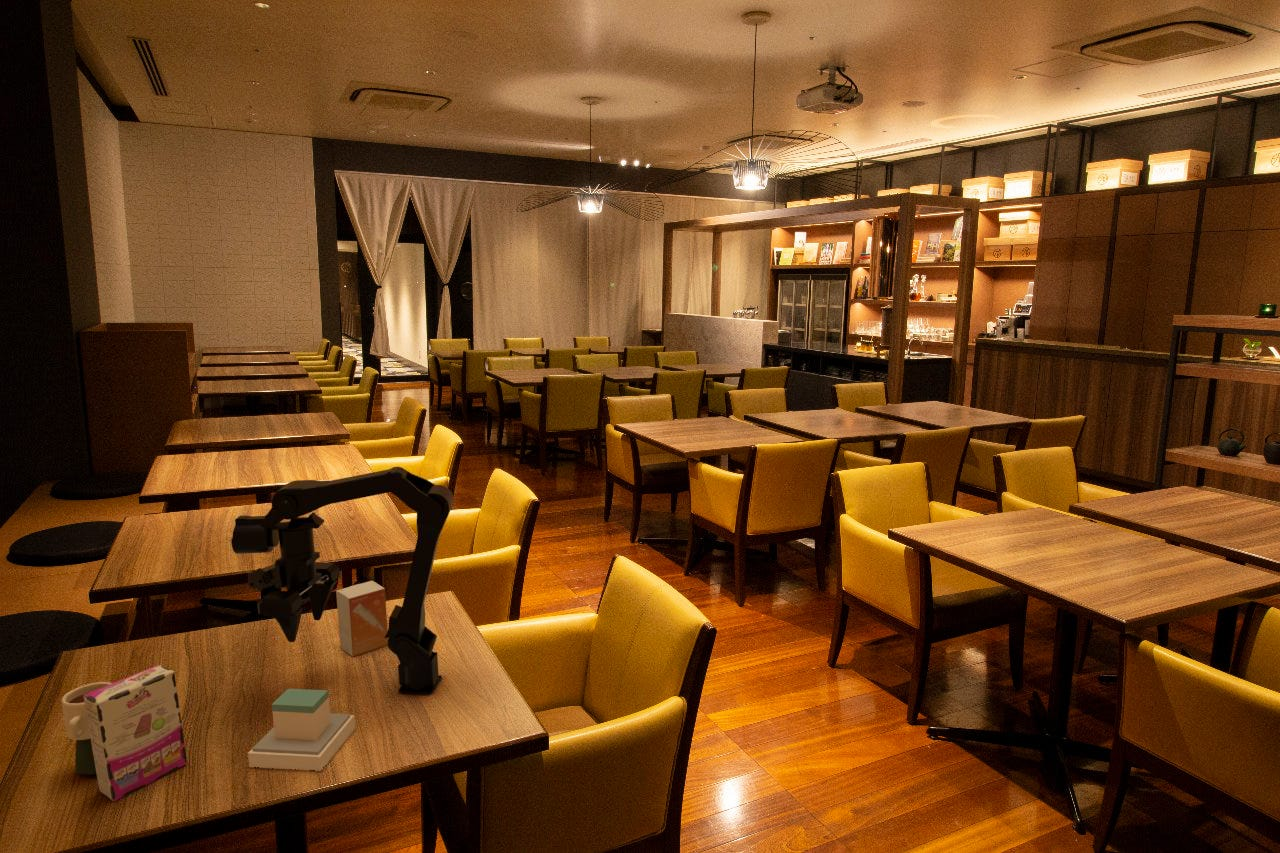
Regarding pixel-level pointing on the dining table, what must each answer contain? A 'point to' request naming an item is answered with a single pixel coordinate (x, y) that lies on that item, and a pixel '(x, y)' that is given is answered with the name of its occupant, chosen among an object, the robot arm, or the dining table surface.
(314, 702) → the cream carton
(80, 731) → the character mug
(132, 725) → the candy bar box
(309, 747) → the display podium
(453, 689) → the dining table surface
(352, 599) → the small box
